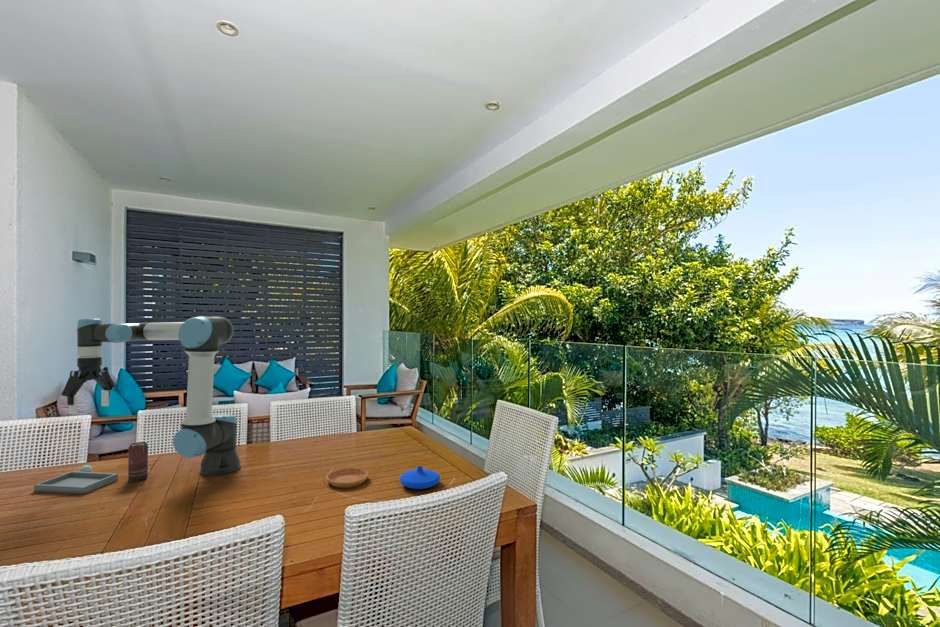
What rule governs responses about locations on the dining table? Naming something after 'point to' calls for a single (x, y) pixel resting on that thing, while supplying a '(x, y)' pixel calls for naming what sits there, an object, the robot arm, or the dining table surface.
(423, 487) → the blue lid
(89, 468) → the ball
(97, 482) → the tray
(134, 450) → the can
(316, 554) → the dining table surface
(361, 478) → the saucer
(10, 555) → the dining table surface
